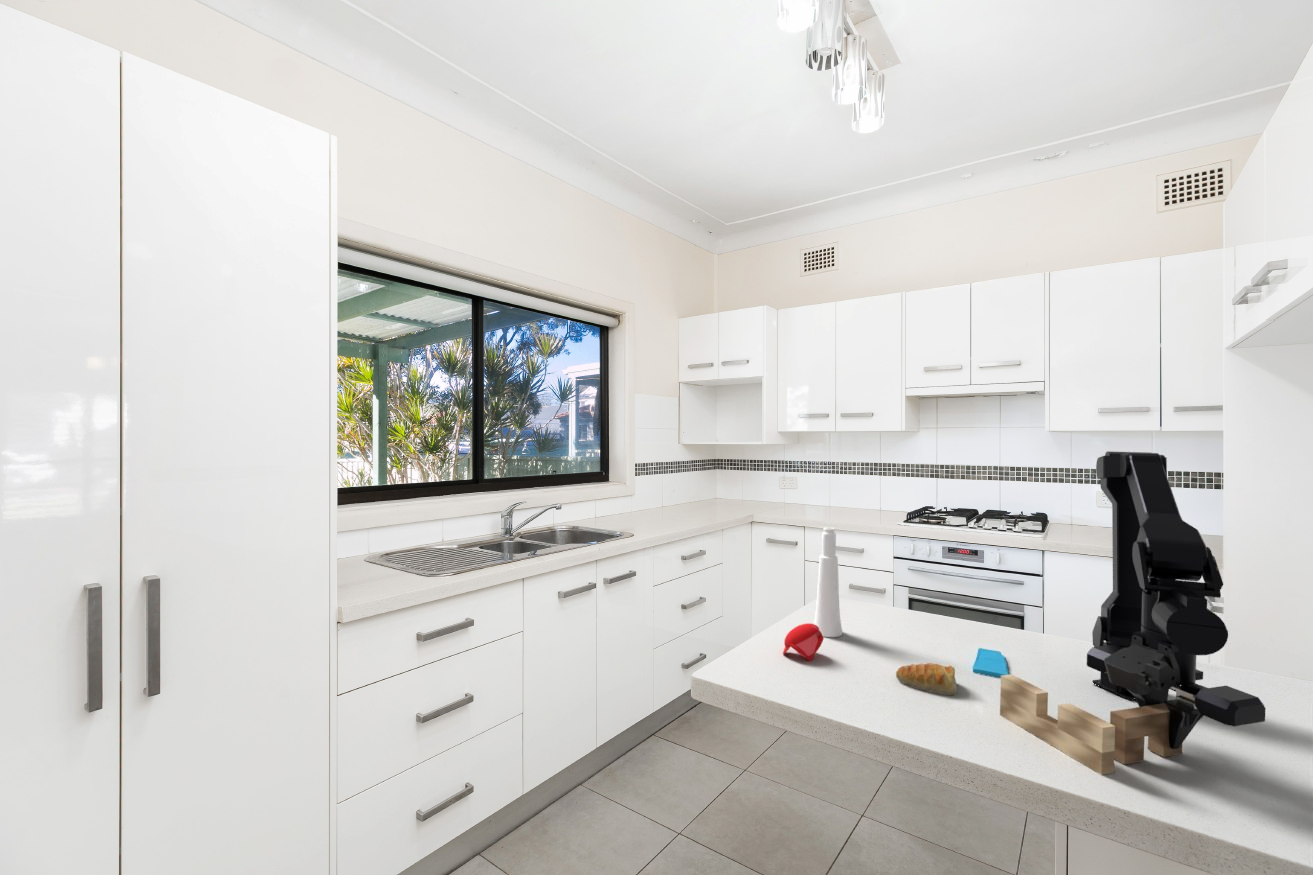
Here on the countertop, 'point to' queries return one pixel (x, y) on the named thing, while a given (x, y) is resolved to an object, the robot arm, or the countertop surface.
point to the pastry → (929, 677)
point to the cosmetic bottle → (828, 588)
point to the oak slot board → (1059, 724)
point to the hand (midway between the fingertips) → (1164, 743)
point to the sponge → (990, 663)
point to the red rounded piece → (804, 640)
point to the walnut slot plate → (1141, 732)
